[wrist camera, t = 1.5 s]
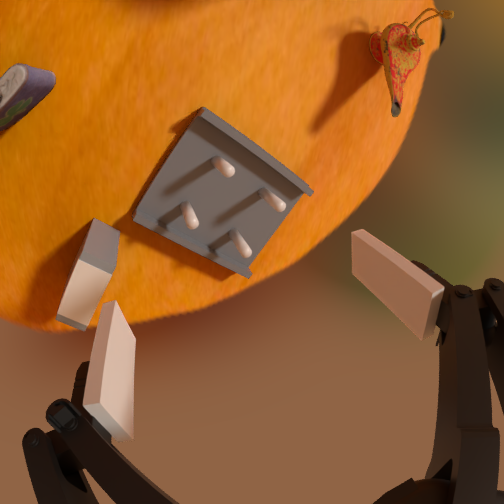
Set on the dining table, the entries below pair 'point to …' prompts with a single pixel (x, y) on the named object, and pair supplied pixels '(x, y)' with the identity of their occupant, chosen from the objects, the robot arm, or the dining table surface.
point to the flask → (22, 92)
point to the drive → (89, 275)
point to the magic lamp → (399, 54)
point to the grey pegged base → (219, 194)
